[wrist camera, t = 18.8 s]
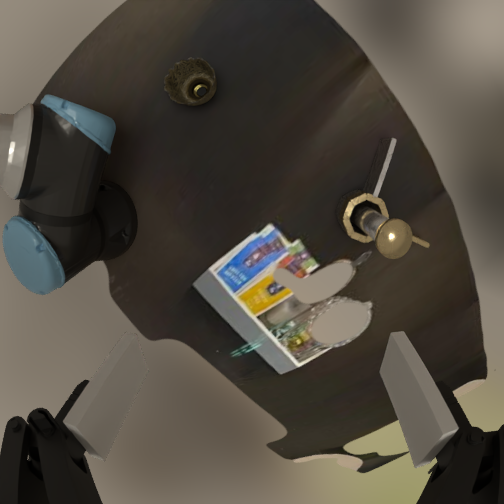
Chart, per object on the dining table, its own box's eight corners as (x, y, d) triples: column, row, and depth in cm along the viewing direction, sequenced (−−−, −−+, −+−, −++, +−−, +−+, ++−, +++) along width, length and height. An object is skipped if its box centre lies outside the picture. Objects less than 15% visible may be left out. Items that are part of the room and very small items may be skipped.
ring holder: (357, 268, 48) (365, 280, 43) (314, 167, 42) (320, 169, 38) (417, 238, 45) (430, 246, 40) (383, 138, 40) (395, 136, 35)
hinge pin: (350, 230, 45) (384, 265, 30) (339, 205, 44) (372, 230, 29) (373, 219, 44) (416, 248, 29) (364, 194, 43) (406, 213, 28)
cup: (232, 97, 39) (224, 85, 32) (193, 120, 41) (178, 113, 33) (210, 64, 38) (199, 48, 30) (173, 87, 39) (155, 75, 32)
